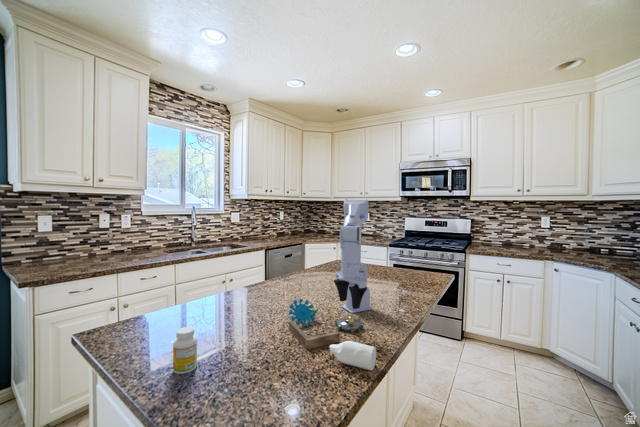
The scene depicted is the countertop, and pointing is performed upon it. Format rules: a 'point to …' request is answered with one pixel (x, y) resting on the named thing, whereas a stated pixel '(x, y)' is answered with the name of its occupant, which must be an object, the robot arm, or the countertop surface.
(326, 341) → the tray
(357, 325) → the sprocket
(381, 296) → the countertop surface
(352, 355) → the white plastic bottle
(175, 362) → the supplement bottle
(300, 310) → the gear
